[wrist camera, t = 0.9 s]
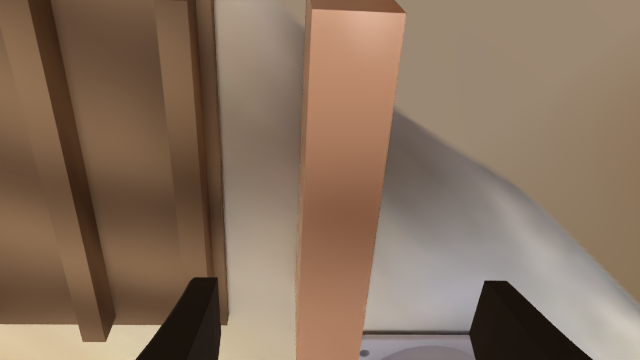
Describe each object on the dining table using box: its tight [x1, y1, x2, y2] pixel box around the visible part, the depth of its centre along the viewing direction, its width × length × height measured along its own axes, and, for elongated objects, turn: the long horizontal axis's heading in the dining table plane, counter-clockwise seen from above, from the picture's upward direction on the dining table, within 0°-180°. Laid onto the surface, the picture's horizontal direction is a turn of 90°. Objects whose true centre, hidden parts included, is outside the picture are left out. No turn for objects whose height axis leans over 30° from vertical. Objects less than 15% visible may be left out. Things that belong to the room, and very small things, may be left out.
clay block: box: [295, 0, 406, 360], centre depth 19 cm, size 14×2×5 cm, turn 177°
